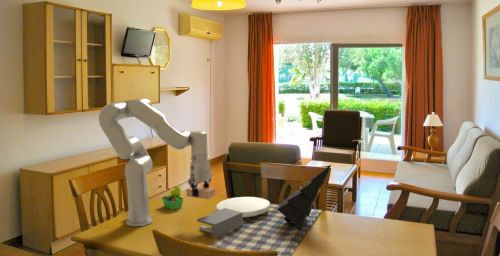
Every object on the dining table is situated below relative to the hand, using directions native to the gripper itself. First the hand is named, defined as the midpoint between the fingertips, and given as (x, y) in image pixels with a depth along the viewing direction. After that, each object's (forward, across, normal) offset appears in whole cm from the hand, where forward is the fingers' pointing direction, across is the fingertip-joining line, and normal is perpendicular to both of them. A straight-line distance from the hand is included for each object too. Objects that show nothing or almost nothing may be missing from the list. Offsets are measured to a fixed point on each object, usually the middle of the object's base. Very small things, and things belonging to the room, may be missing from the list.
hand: (200, 194), depth 202 cm
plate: (+15, +25, -5) cm, 30 cm away
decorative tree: (+15, +28, -40) cm, 51 cm away
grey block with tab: (+15, 0, -11) cm, 18 cm away
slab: (+1, 0, 0) cm, 1 cm away
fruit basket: (+15, +10, +31) cm, 35 cm away
